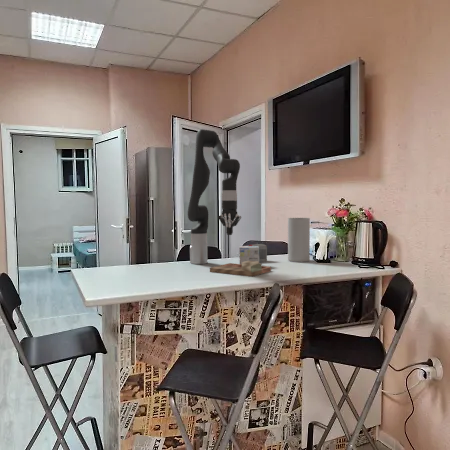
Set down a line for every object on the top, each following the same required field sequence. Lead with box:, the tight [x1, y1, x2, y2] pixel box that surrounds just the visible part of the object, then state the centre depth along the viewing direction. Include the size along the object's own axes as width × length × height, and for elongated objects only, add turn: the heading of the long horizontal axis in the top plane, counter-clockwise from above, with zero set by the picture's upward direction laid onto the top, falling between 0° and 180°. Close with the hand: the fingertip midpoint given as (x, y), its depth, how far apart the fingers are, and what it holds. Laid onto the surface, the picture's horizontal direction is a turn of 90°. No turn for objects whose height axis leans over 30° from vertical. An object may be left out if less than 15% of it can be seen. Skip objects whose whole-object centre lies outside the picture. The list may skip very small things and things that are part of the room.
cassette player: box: [248, 243, 268, 262], centre depth 233 cm, size 16×3×10 cm, turn 113°
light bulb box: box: [238, 245, 260, 264], centre depth 217 cm, size 11×7×11 cm, turn 84°
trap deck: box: [209, 262, 272, 277], centre depth 200 cm, size 25×18×5 cm
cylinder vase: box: [287, 217, 311, 263], centre depth 233 cm, size 12×12×25 cm
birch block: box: [242, 261, 260, 271], centre depth 192 cm, size 6×6×4 cm
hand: (229, 234), depth 197 cm, fingers closed
